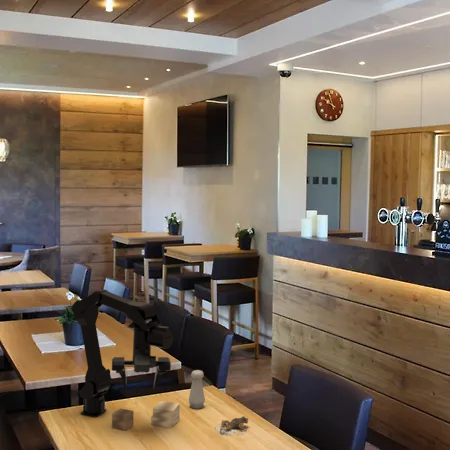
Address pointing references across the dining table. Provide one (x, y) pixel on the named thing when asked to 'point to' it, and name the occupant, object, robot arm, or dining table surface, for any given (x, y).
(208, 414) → the dining table surface
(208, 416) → the dining table surface
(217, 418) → the dining table surface
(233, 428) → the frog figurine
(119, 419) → the walnut cube
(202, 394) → the salt shaker
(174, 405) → the beech slab upper
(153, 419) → the beech slab lower
